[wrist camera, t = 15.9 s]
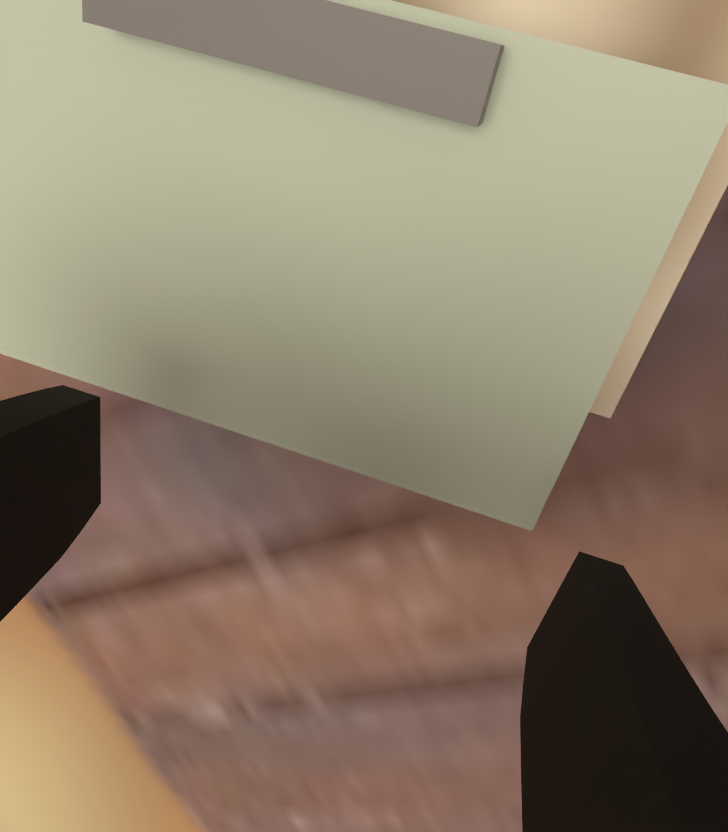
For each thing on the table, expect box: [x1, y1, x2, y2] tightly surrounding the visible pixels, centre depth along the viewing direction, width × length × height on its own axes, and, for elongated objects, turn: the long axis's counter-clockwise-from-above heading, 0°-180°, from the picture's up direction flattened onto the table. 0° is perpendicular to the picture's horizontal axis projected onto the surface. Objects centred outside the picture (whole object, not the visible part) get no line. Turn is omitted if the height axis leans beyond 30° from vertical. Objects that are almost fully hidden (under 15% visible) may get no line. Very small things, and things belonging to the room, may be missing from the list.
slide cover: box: [0, 0, 728, 531], centre depth 13 cm, size 12×8×6 cm, turn 77°
